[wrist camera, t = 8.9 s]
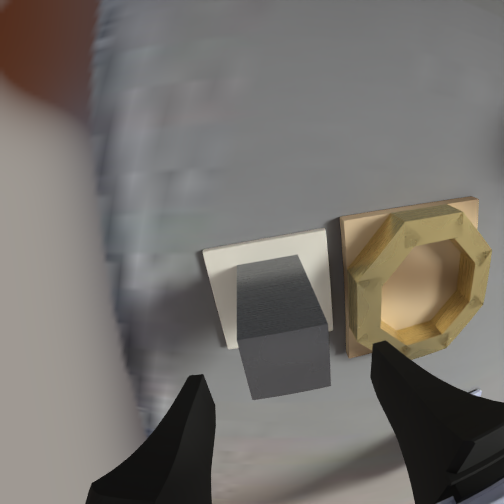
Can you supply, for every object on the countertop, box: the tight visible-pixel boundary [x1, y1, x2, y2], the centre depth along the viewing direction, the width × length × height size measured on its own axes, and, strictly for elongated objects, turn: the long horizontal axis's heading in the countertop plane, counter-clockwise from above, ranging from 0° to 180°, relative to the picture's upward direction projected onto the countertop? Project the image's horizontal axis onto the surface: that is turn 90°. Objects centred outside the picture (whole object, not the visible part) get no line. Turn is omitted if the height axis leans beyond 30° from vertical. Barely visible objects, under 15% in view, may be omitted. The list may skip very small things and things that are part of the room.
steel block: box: [237, 254, 331, 400], centre depth 16 cm, size 4×4×7 cm
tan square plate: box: [340, 196, 479, 358], centre depth 19 cm, size 10×10×1 cm
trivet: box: [203, 228, 333, 349], centre depth 19 cm, size 7×7×1 cm
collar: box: [347, 204, 492, 360], centre depth 18 cm, size 10×10×2 cm
